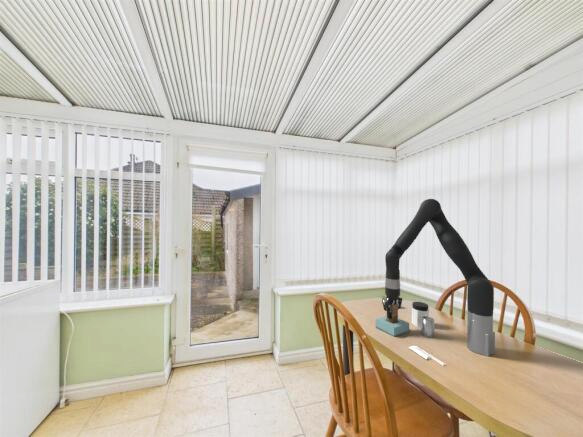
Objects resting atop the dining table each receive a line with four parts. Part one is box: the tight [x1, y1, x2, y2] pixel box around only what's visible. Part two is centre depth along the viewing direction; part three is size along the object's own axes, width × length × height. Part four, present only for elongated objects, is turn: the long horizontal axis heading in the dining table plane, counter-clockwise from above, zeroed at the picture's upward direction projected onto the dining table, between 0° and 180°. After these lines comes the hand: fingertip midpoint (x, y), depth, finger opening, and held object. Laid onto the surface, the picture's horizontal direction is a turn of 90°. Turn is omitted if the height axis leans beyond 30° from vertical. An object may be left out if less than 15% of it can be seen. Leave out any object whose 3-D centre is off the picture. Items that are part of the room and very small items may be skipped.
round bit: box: [420, 316, 435, 339], centre depth 123 cm, size 6×6×9 cm
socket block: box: [375, 315, 410, 338], centre depth 129 cm, size 12×12×5 cm
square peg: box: [387, 304, 399, 324], centre depth 129 cm, size 4×4×12 cm
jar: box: [411, 301, 430, 328], centre depth 136 cm, size 9×8×12 cm
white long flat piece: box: [408, 345, 447, 367], centre depth 103 cm, size 5×15×1 cm, turn 17°
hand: (392, 317), depth 129 cm, fingers closed on square peg, 4 cm apart
